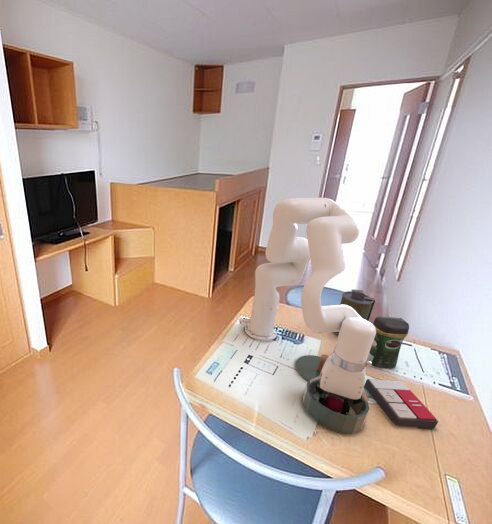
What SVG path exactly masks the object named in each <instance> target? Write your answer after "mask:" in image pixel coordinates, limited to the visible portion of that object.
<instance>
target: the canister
mask: <svg viewBox="0 0 492 524" xmlns="http://www.w3.org/2000/svg"><path fill="white" fill-rule="evenodd" d="M341 295H342V296H341V300H340V303H339V305H348V306H350V307H352V308H353V309H354V310H355V311H356V312H357V313H358V314H359V315H360V316H361V317H362V318H363V319H364V320H367V321H369V322H370V318H371V314H372V312H373V309H374V306H375V304H376V300H375V298H374V297H371V296H369V295H367V294H365V292H364V291H363V289H351V290H348V291H343V292H342V294H341ZM333 334H334V335H336V336H338V335H339V332H333Z"/></svg>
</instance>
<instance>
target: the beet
mask: <svg viewBox="0 0 492 524" xmlns="http://www.w3.org/2000/svg"><path fill="white" fill-rule="evenodd" d="M343 402H344V400H343V399H341V398H339V397H338V396H337V395H332V394H329V395H326V402H325V407H327V408H329V409H330V410H332V411H334V412H337V413H340V414H341V413H342V411H343V409H344V404H343Z"/></svg>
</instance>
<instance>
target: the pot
mask: <svg viewBox="0 0 492 524" xmlns="http://www.w3.org/2000/svg"><path fill="white" fill-rule="evenodd" d="M316 377H318V376H316ZM316 377H313V378H316ZM313 378H311V379H313ZM311 379H310V380H311ZM310 380H309V381H307V382H306V385H305V387H304V392H303V396H302V405H303V407H304V410H305V412H306V413H307V415H309V416H310V417H311V418H312V419H313V420H314V421H315V422H316V423H317V424H319V425H321V426H322V427H324V428H326V429H328V430H330V431H333V432H336V433H339V434H347V435H349V434H350V435H352V434H355V433H358V432H360V431H362V428H363V427H364V425H365V423H366V419H367V417H368V414H369V412H370V404H369V401H367V402H361V403H359V404H355V405H353V407H352V408H353V410H354V411H355V413H356V415H351V414H346V415H344V414H342V413H341V412H340V413H337V412H334V411H332V410H330V409H329V408H327V407H325V406H323V405H322V404H321V403H320V402H319V401H318V400H317V398H316V397H315V396H314V395H313V394H314V393H318V392H317V391H316V389H315V388H314V387H313V386H312V385H311V384H310ZM318 384H319V385H320V383H318ZM328 394H329V395H337V394H334V393H331V392H329V393H328ZM337 396H338V397H339V398H340V399H341V400H342V401H344V399H345V398H346V399H347V397H344V396H340V395H337Z"/></svg>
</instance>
